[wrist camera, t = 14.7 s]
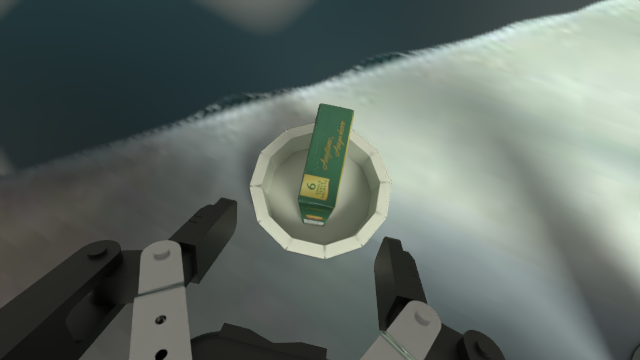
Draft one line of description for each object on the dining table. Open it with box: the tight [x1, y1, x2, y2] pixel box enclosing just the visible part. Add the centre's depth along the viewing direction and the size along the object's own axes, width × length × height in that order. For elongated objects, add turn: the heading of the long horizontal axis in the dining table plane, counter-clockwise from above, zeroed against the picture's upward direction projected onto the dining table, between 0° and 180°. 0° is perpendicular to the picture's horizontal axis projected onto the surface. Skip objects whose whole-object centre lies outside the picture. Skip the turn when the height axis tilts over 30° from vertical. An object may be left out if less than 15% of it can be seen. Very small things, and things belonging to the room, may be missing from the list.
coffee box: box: [298, 104, 354, 226], centre depth 23 cm, size 8×3×13 cm, turn 168°
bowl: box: [250, 122, 392, 259], centre depth 28 cm, size 15×15×5 cm
